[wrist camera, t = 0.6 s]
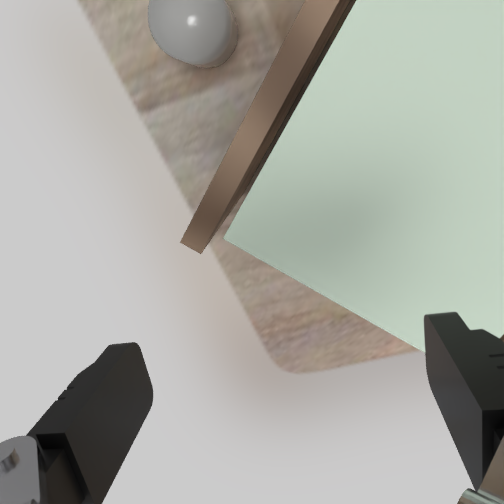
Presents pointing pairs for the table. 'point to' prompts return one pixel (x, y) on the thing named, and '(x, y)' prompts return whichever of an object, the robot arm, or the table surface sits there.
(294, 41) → the stand
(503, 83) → the trapdoor
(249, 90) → the table surface
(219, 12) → the smooth gray cylinder
